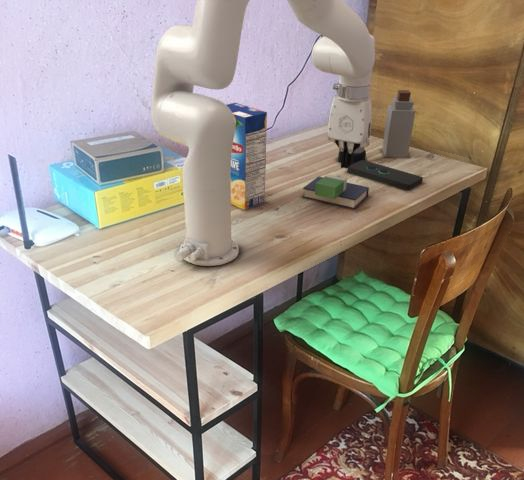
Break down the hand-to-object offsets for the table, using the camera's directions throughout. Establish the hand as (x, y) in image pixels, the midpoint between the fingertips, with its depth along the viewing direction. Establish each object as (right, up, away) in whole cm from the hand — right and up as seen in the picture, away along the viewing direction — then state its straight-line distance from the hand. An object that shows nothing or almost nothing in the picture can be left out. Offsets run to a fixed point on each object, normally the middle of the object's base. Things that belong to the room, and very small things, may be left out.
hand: (345, 166), depth 152 cm
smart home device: (+12, +1, +12) cm, 18 cm away
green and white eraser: (-4, -7, -5) cm, 9 cm away
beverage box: (-27, -10, -2) cm, 29 cm away
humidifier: (+5, +9, +23) cm, 25 cm away
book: (-3, -8, 0) cm, 9 cm away
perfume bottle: (+19, +13, +29) cm, 37 cm away
